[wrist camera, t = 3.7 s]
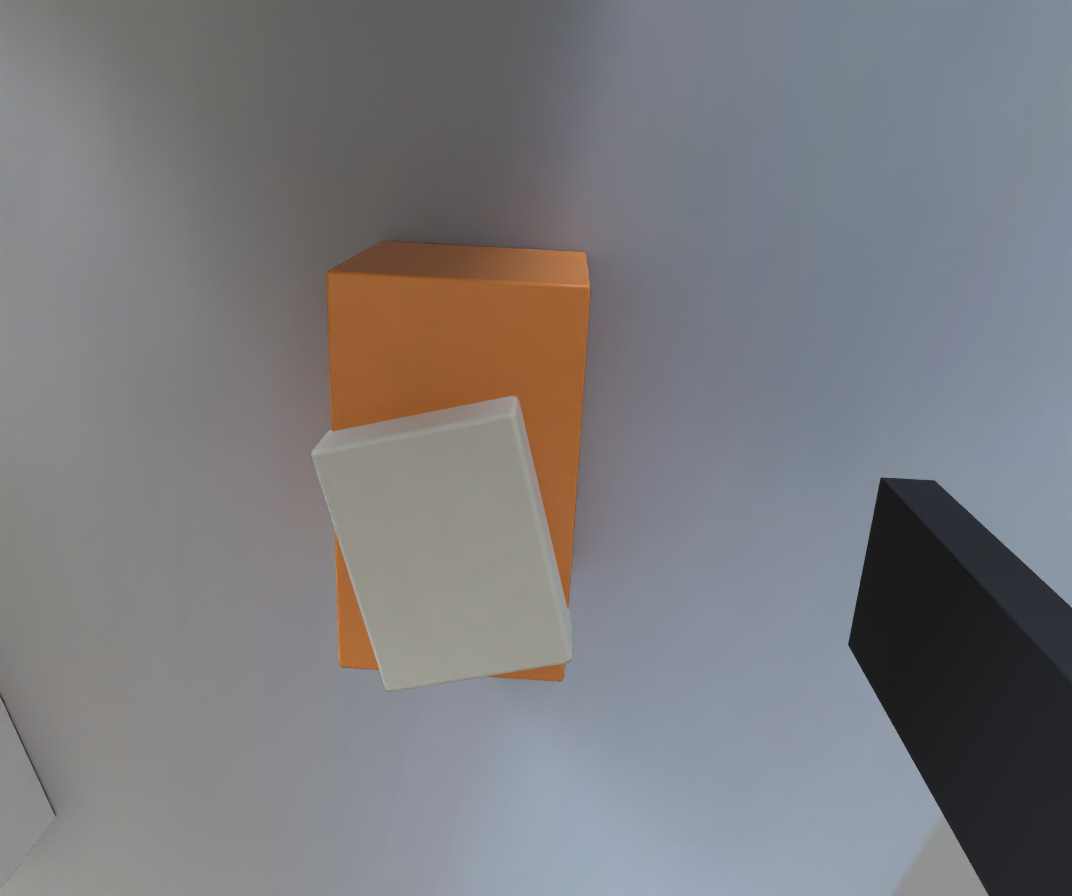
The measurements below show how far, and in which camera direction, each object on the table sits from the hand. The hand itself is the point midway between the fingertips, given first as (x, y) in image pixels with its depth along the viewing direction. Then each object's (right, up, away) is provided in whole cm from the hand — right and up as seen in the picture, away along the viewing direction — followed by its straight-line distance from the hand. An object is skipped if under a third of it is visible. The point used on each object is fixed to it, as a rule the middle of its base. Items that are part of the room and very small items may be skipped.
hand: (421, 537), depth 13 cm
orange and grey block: (+1, +2, +5) cm, 6 cm away
